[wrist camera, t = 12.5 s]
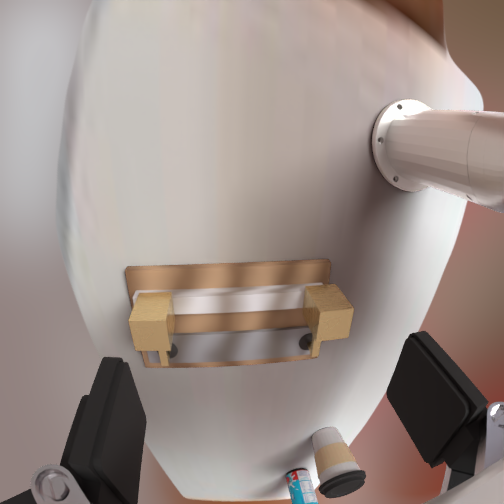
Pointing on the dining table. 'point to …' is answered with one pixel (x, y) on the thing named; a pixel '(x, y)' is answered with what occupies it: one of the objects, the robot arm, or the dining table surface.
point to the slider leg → (153, 324)
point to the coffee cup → (335, 464)
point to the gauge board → (225, 281)
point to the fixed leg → (326, 314)
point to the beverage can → (301, 487)
